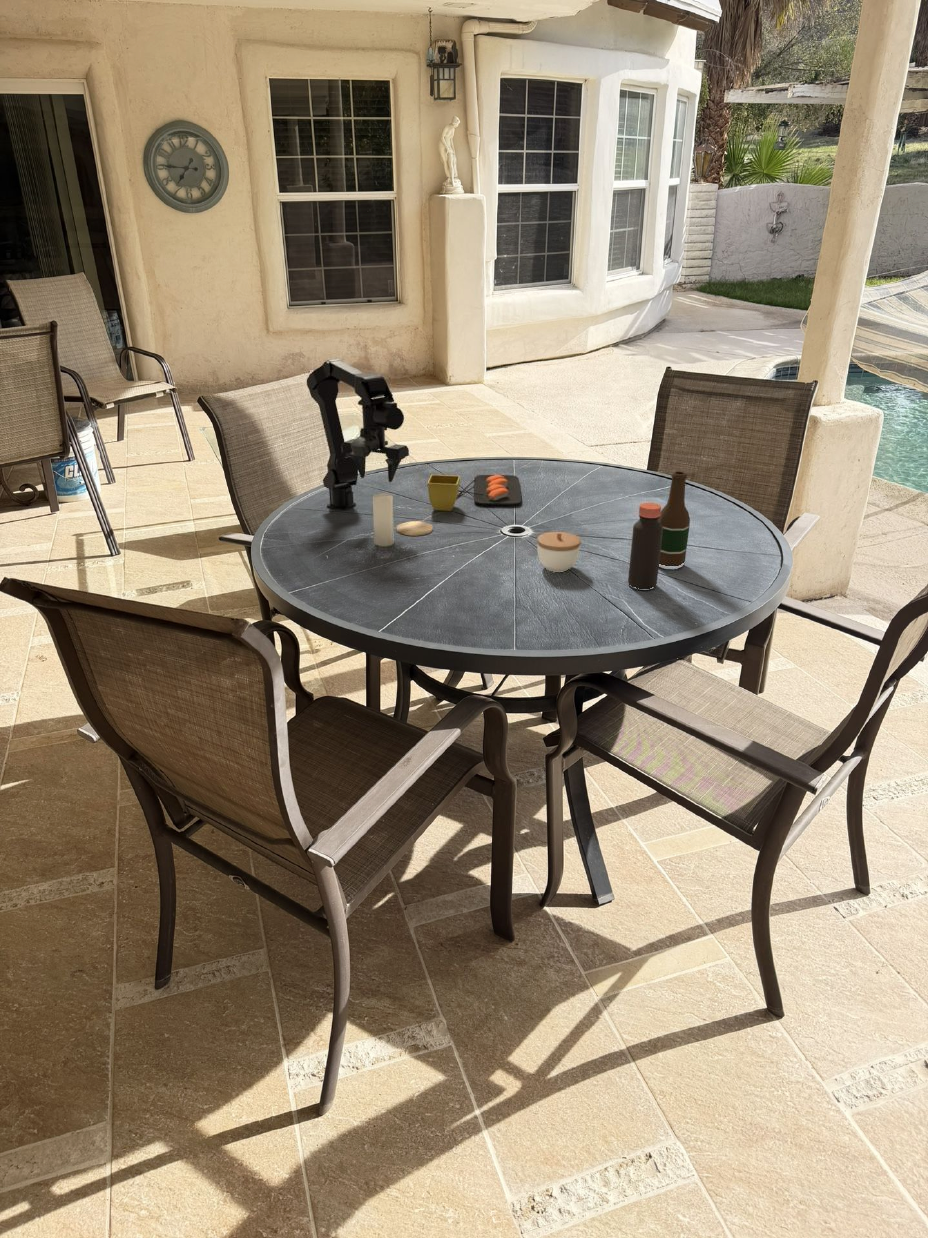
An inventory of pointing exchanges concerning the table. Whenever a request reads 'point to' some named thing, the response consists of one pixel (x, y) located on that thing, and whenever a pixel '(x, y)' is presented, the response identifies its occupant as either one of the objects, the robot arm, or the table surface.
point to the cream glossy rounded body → (383, 519)
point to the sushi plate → (495, 489)
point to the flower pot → (443, 491)
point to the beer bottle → (675, 523)
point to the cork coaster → (414, 528)
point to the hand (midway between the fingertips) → (376, 479)
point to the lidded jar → (558, 550)
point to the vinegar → (646, 547)
